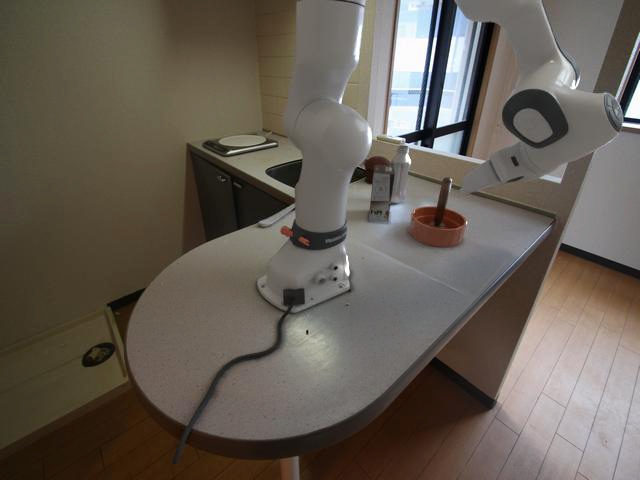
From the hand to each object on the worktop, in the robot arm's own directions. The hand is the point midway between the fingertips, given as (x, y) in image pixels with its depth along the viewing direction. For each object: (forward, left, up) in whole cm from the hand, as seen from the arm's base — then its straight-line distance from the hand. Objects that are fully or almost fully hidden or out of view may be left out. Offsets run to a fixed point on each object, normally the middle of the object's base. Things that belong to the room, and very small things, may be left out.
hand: (474, 188), depth 79 cm
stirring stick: (+2, +8, -17) cm, 19 cm away
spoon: (-16, +50, -18) cm, 56 cm away
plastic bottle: (+14, +30, -18) cm, 38 cm away
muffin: (+27, +49, -18) cm, 59 cm away
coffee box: (0, +27, -18) cm, 33 cm away
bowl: (+2, +8, -18) cm, 20 cm away
